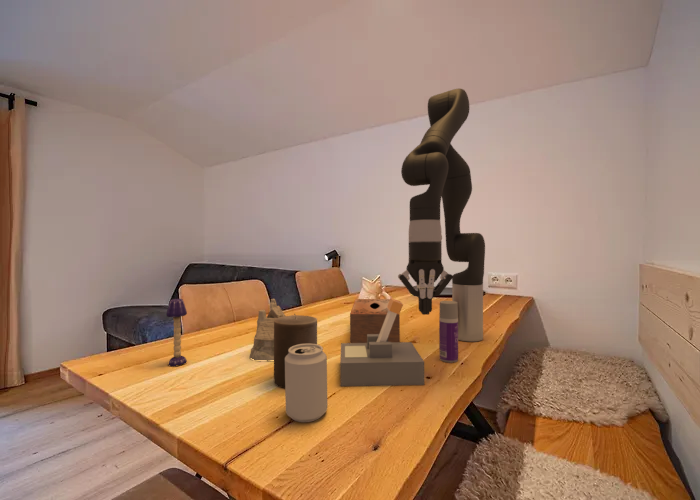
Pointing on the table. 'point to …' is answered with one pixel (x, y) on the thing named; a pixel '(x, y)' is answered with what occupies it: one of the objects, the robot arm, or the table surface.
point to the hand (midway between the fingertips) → (425, 313)
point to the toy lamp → (177, 329)
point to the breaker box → (380, 363)
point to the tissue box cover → (371, 320)
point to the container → (448, 331)
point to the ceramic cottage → (265, 333)
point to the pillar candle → (291, 340)
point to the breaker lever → (389, 319)
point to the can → (306, 382)
